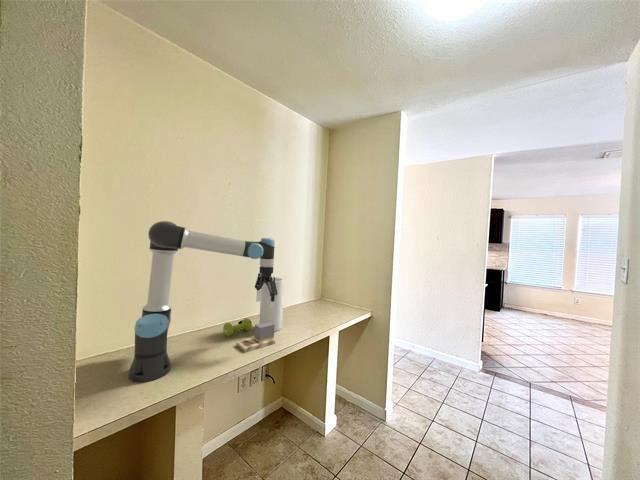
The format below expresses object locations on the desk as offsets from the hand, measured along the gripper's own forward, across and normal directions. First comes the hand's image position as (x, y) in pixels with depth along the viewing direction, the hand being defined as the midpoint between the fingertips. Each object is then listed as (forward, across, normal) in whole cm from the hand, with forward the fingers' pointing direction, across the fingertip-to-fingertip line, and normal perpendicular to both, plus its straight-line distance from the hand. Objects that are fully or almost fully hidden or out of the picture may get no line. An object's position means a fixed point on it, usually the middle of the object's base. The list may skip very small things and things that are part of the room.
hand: (264, 304), depth 146 cm
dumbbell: (+22, +21, +6) cm, 31 cm away
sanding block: (+20, 0, 0) cm, 20 cm away
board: (+22, 0, +4) cm, 22 cm away
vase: (+22, +16, -15) cm, 31 cm away
